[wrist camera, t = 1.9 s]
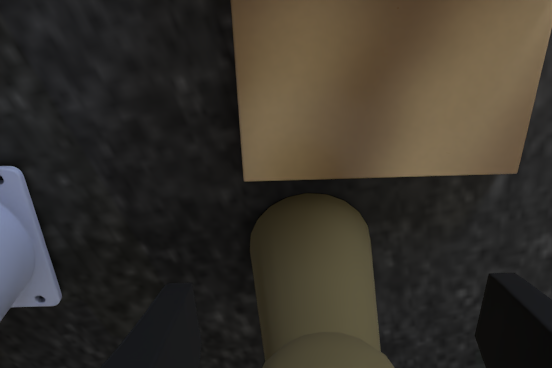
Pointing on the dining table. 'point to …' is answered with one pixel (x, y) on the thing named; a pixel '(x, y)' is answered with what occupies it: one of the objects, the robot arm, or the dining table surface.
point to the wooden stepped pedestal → (386, 86)
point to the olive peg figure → (315, 285)
